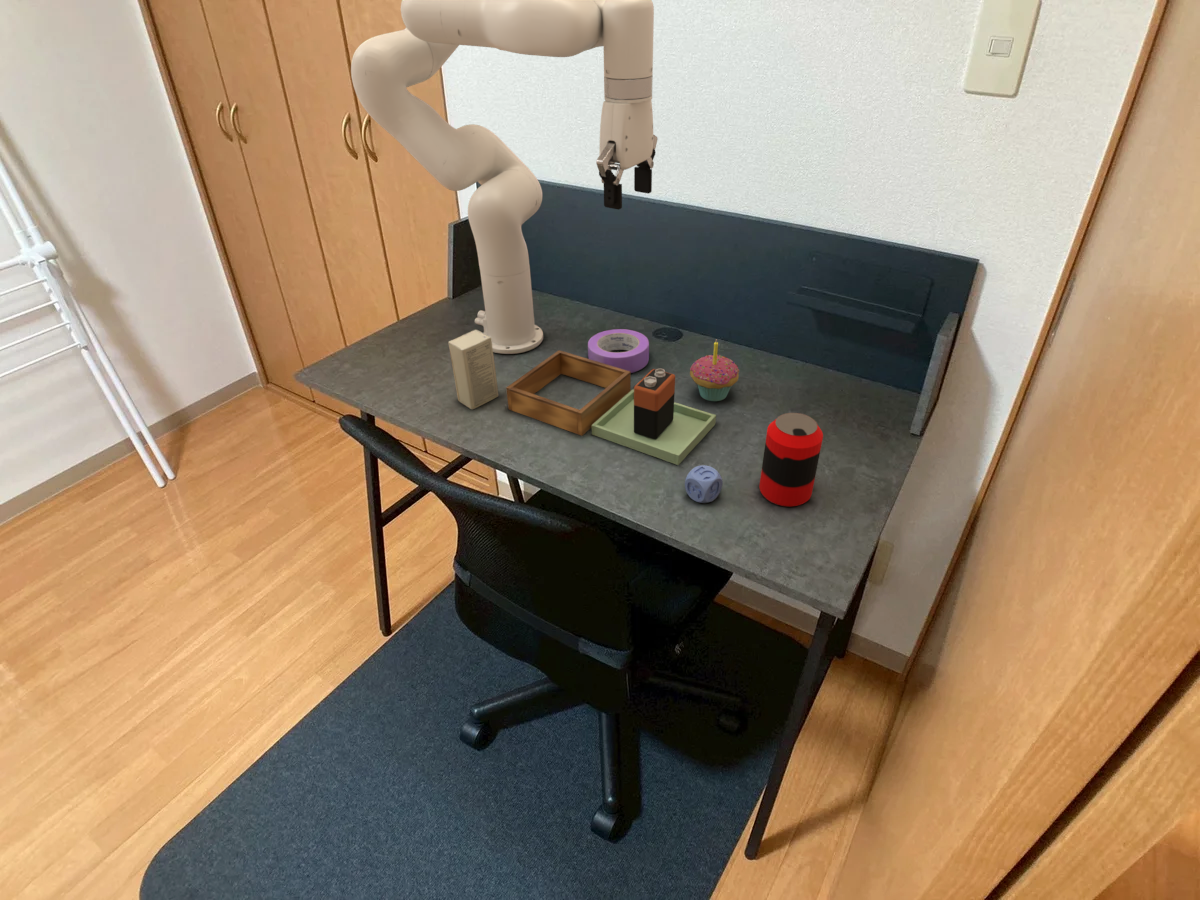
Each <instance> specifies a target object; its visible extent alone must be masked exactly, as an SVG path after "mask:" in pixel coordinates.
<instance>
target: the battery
mask: <svg viewBox="0 0 1200 900" xmlns="http://www.w3.org/2000/svg"><path fill="white" fill-rule="evenodd" d="M675 388H676V375H675V374H674V373H671V372H667V371H665V369H664V368H652V369H651V370H650V371H649V372H648V373H647V374H646V375H644V377H643V378H642V379H640V381H639V382H637V383H636V384H635V385H634V387H633V389H634V433H636V434H639V435H642V436H646V437H649V438H652V439H657V438H658V437H659V436H660V434H661V433H662V432H663V431H664V430H665V429H666V428H667V427H668V426H669V424H670V423H671V422H672V421H673V416H674V402H675V394H676V393H675V390H676V389H675Z"/></svg>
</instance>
